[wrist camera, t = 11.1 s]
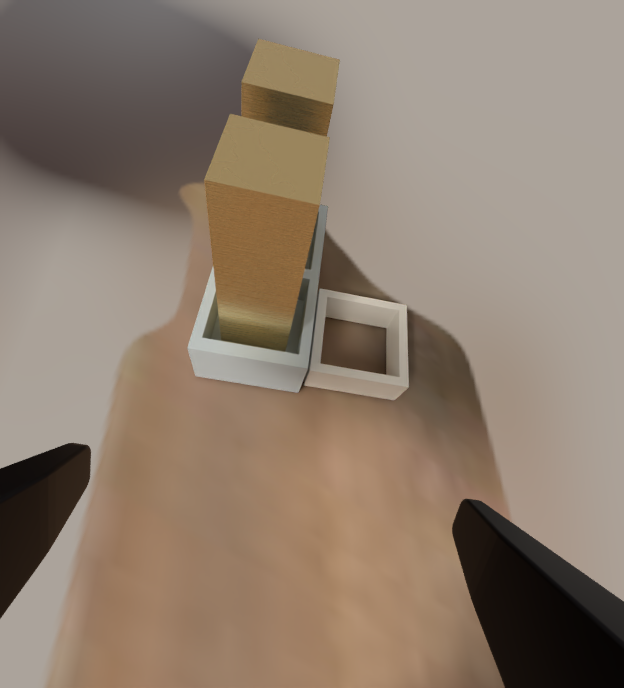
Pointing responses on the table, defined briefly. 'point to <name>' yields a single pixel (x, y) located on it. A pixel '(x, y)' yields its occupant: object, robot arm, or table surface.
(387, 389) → the box
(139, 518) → the table surface
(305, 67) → the seated billet
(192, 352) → the two-compartment pale blue organizer
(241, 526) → the table surface
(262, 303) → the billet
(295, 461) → the table surface
